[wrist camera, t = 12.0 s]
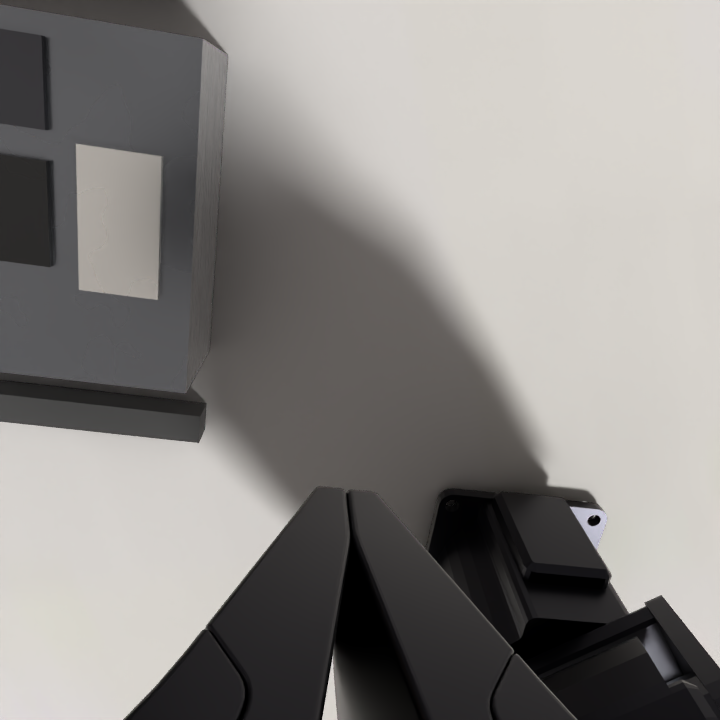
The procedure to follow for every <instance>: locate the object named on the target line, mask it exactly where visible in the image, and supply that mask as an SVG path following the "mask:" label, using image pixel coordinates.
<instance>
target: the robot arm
mask: <svg viewBox="0 0 720 720" xmlns="http://www.w3.org/2000/svg"><path fill="white" fill-rule="evenodd" d="M451 500H455V501H457V502H456V503H455V504H454V505H450V506H449V505H446V504H447V502H449V501H451ZM592 515H596V516H595V517H594V518H593V519H590V520H588V518H589V517H590V516H592ZM606 522H607V516H606V513H605V512H604V511H603V509H602V508H601V507H600V506H599V505H598V504H594V503H587V502H577V501H567V500H565V499H564V498H560V497H551V496H541V495H532V494H522V493H513V492H503V491H502V492H499V493H491V492H481V491H472V490H462V489H446V490H444V491H442V492H441V493H440V494H439V496H438V498H437V502H436V507H435V511H434V515H433V520H432V524H431V529H430V533H429V537H428V542H427V546H426V549H425V548H424V547H423V545H422V544H421V543H420V542H419V541H418V540H417V539H416V537H415V536H414V535H413V534H412V533H411V532H410V531H409V529H408V528H407V527H406V526H405V525H404V524H403V523H402V521H401V520H400V519H399V518H398V517H397V516H396V515H395V513H394V512H393V511H392V510H391V509H390V508H389V507H388V505H387V504H386V503H385V502H384V501H383V500H382V499H381V497H380V496H379V495H378V494H377V493H375V492H372V491H362V490H349V491H348V492H347V493H346V491H345V490H344V489H342V488H333V487H323V486H319V487H317V488H316V489H315V490H314V491H313V492H312V493H311V495H310V496H309V497H308V498H307V500H306V501H305V502H304V504H303V505H302V506H301V507H300V509H299V510H298V511H297V512H296V514H295V515H294V516H293V517H292V519H291V520H290V521H289V522H288V524H287V525H286V526H285V527H284V529H283V530H282V531H281V532H280V534H279V535H278V536H277V537H276V539H275V540H274V541H273V542H272V544H271V545H270V546H269V547H268V549H267V550H266V551H265V552H264V554H263V555H262V556H261V557H260V559H259V560H258V561H257V563H256V564H255V565H254V566H253V568H252V569H251V570H250V571H249V573H248V574H247V575H246V576H245V578H244V579H243V580H242V581H241V583H240V584H239V585H238V586H237V588H236V589H235V590H234V591H233V593H232V594H231V595H230V596H229V598H228V599H227V600H226V601H225V603H224V604H223V605H222V606H221V608H220V609H219V610H218V611H217V613H216V614H215V615H214V617H213V618H212V619H211V620H210V622H209V623H208V624H207V625H206V628H205V629H204V630H202V631H201V632H200V634H199V635H198V636H197V637H196V639H195V640H194V641H193V642H192V644H191V645H190V646H189V647H188V649H187V650H186V651H185V652H184V654H183V655H182V656H181V657H180V658H179V660H178V661H177V662H176V663H175V664H174V665H173V667H172V668H171V669H170V670H169V671H168V672H167V673H166V675H165V676H164V677H163V678H162V679H161V680H160V682H159V683H158V684H157V685H156V686H155V687H154V688H153V690H152V691H151V692H150V693H149V694H148V695H147V696H146V697H145V698H144V699H143V700H142V701H141V702H140V703H139V704H138V705H137V706H136V707H135V708H134V709H133V710H132V711H131V712H130V713H129V714H128V715H127V716H126V717H125V718H124V719H123V720H322V716H323V710H324V704H325V698H326V692H327V686H328V680H329V674H330V668H331V662H332V656H333V665H334V681H335V694H336V706H337V719H338V720H720V668H719V667H718V665H717V664H716V663H715V662H714V660H713V659H712V658H711V657H710V655H709V654H708V653H707V652H706V650H705V649H704V648H703V647H702V645H701V644H700V643H699V642H698V640H697V639H696V638H695V637H694V635H693V634H692V633H691V632H690V630H689V629H688V628H687V627H686V625H685V624H684V623H683V622H682V620H681V619H680V618H679V617H678V615H677V614H676V613H675V612H674V610H673V609H672V608H671V607H670V605H669V604H668V603H667V602H666V600H665V599H664V598H663V597H662V595H661V596H658V597H656V598H654V599H652V600H649V601H647V602H645V605H646V606H645V607H643V608H641V609H639V610H636V611H634V612H632V613H630V614H629V612H628V611H627V609H626V607H625V606H624V604H623V603H622V601H621V599H620V598H619V596H618V594H617V593H616V591H615V589H614V588H613V586H612V584H611V583H610V579H611V577H612V576H611V573H610V571H609V569H608V568H607V566H606V564H605V563H604V561H603V560H602V558H601V556H600V555H599V553H598V552H597V548H598V545H599V542H600V539H601V536H602V534H603V531H604V528H605V525H606Z"/></svg>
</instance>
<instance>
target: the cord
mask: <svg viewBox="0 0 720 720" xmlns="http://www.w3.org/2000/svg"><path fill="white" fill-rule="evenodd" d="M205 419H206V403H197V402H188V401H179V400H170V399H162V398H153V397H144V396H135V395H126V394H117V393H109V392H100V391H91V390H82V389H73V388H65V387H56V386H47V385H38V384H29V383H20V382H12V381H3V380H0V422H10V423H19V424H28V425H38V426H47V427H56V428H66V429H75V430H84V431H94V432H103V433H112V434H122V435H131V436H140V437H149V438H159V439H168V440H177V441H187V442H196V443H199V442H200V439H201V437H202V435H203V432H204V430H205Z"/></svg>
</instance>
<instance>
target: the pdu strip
mask: <svg viewBox="0 0 720 720" xmlns="http://www.w3.org/2000/svg"><path fill="white" fill-rule="evenodd" d="M227 62H228V55H227V54H225V53H224V52H223V51H221V50H220V49H218V48H217V47H215V46H214V45H212V44H211V43H209V42H208V41H206V40H205V39H203V38H198V37H192V36H186V35H180V34H174V33H168V32H162V31H156V30H150V29H144V28H138V27H133V26H127V25H121V24H115V23H109V22H103V21H97V20H91V19H85V18H79V17H73V16H67V15H61V14H55V13H49V12H44V11H38V10H32V9H26V8H20V7H14V6H8V5H2V4H0V372H3V373H11V374H20V375H29V376H38V377H46V378H55V379H64V380H72V381H81V382H90V383H99V384H107V385H116V386H125V387H134V388H142V389H151V390H160V391H168V392H177V393H186V392H187V391H188V389H189V387H190V385H191V383H192V382H193V380H194V378H195V376H196V374H197V372H198V371H199V369H200V367H201V365H202V363H203V362H204V360H205V358H206V356H207V354H208V352H209V351H210V338H211V321H212V305H213V289H214V273H215V257H216V240H217V224H218V208H219V192H220V176H221V159H222V143H223V127H224V111H225V95H226V78H227Z"/></svg>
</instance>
